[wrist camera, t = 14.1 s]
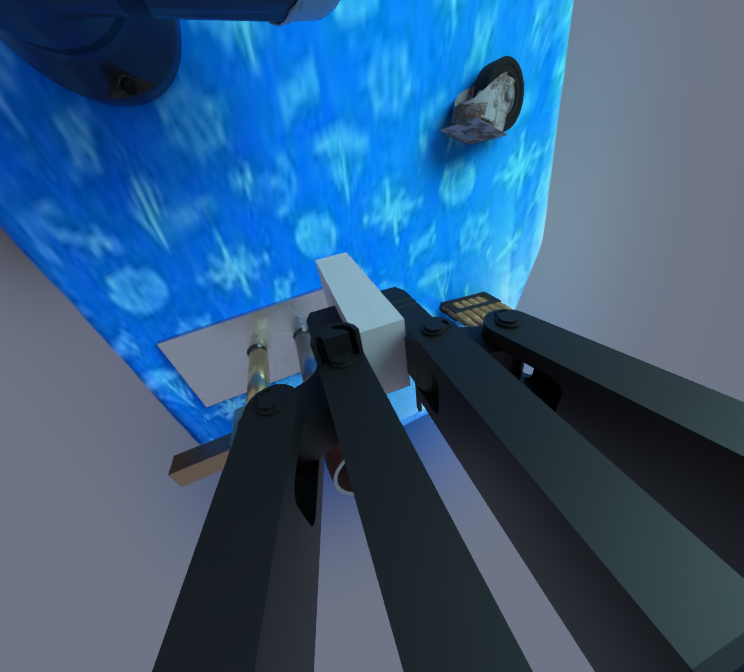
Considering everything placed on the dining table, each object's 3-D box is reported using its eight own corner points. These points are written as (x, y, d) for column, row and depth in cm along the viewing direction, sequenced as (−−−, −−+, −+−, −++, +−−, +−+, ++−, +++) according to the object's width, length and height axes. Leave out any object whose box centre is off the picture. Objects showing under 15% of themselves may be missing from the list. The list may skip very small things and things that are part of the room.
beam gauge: (207, 403, 50) (176, 536, 32) (158, 341, 42) (80, 469, 24) (343, 351, 54) (386, 442, 36) (322, 286, 47) (362, 359, 28)
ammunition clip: (485, 291, 59) (530, 314, 49) (484, 299, 60) (528, 323, 50) (440, 302, 56) (478, 329, 47) (440, 310, 57) (477, 338, 48)
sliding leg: (252, 366, 48) (248, 472, 31) (237, 341, 45) (223, 443, 28) (275, 358, 48) (283, 457, 31) (262, 332, 45) (263, 426, 28)
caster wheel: (501, 84, 43) (485, 157, 46) (453, 47, 37) (438, 134, 40) (546, 66, 38) (524, 149, 41) (498, 19, 32) (476, 122, 35)
